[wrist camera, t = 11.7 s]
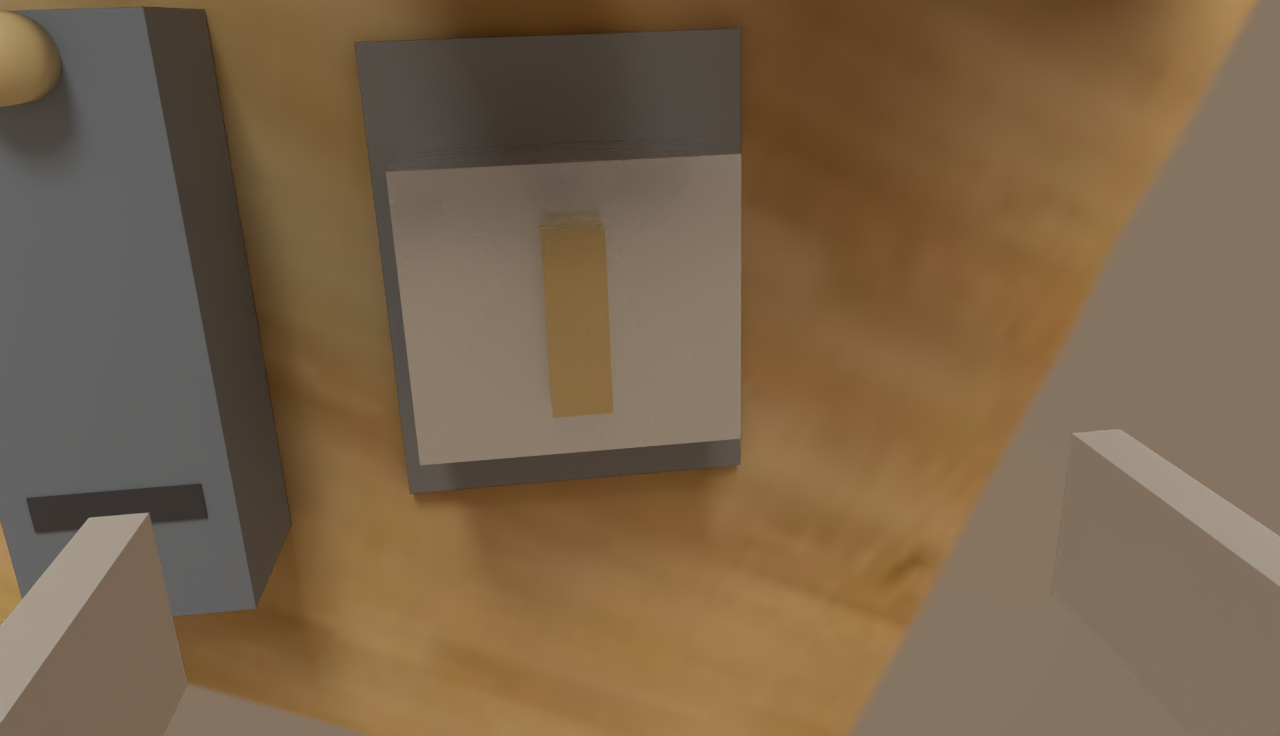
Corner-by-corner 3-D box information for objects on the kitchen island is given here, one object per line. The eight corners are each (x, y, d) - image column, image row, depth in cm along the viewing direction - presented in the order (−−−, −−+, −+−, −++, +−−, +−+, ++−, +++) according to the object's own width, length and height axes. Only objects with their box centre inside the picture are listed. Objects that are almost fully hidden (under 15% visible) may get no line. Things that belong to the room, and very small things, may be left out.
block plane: (-27, 16, 27) (-175, 15, 21) (204, 9, 27) (123, 5, 22) (100, 541, 32) (10, 656, 26) (291, 524, 33) (245, 633, 27)
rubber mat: (357, 42, 28) (354, 42, 28) (737, 28, 29) (740, 28, 29) (411, 486, 33) (409, 493, 32) (736, 459, 34) (740, 465, 34)
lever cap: (402, 150, 29) (381, 177, 24) (707, 135, 30) (750, 158, 25) (431, 406, 31) (416, 481, 26) (709, 384, 32) (749, 452, 27)
